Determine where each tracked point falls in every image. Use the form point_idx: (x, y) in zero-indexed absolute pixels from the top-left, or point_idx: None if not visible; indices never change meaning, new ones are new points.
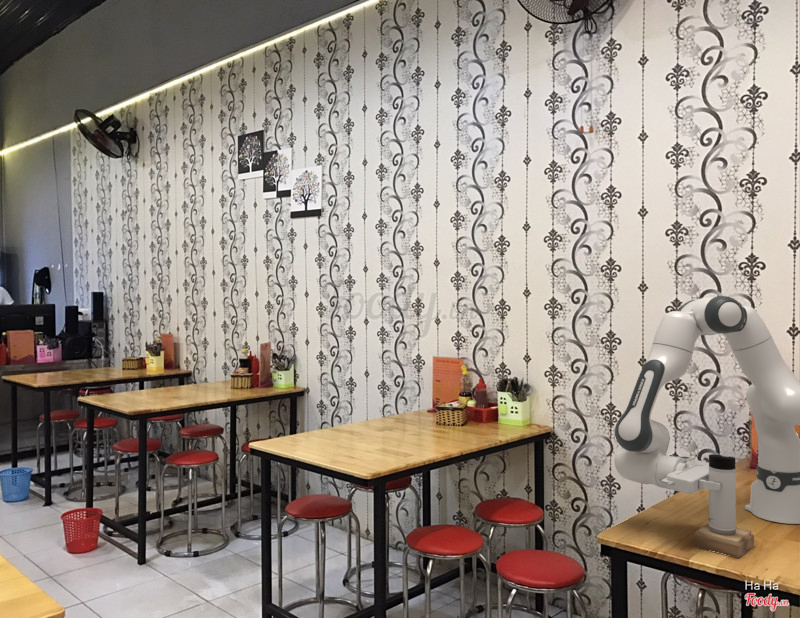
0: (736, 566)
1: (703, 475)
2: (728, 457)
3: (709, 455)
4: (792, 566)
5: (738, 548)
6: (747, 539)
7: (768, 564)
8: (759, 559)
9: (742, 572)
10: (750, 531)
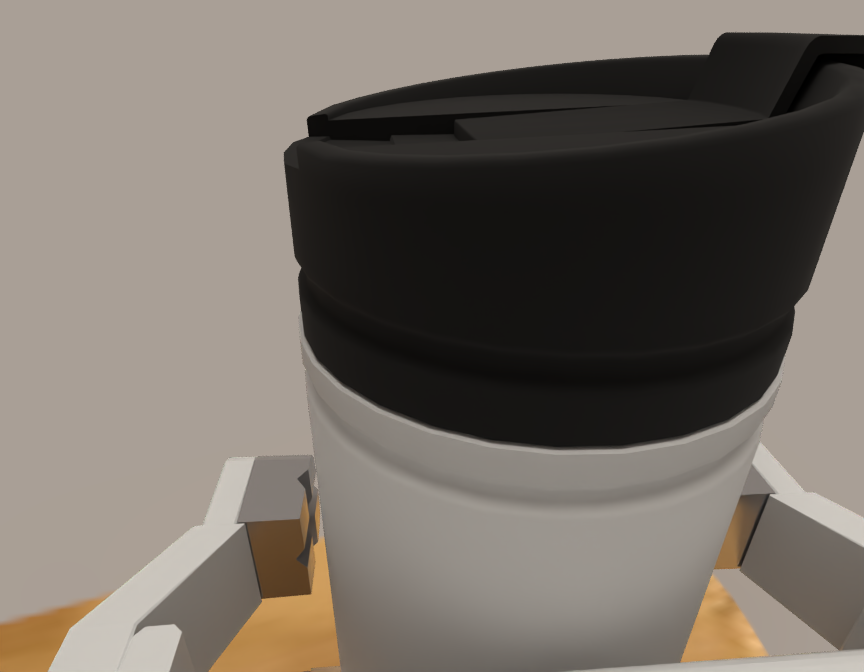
0: (686, 655)
1: (821, 657)
2: (417, 113)
3: (862, 101)
4: None
5: None
6: None
7: None
8: None
9: (717, 606)
10: (324, 668)
